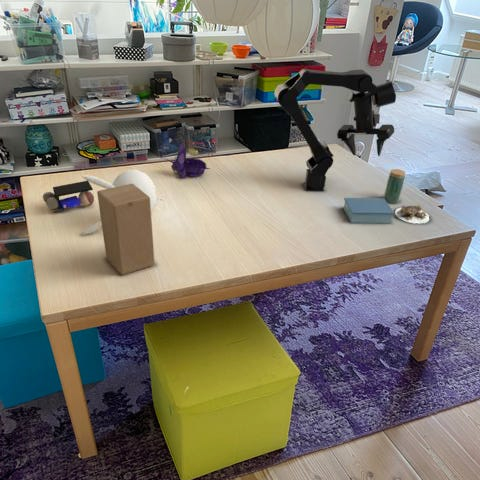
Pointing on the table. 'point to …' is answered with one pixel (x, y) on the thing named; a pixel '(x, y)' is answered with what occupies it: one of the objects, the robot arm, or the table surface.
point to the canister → (394, 186)
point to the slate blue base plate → (368, 210)
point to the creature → (187, 164)
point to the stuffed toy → (124, 179)
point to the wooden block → (127, 228)
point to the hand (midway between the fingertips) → (366, 155)
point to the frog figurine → (412, 214)
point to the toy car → (83, 198)
